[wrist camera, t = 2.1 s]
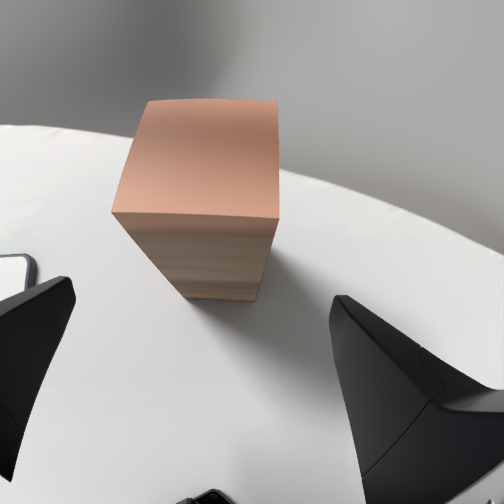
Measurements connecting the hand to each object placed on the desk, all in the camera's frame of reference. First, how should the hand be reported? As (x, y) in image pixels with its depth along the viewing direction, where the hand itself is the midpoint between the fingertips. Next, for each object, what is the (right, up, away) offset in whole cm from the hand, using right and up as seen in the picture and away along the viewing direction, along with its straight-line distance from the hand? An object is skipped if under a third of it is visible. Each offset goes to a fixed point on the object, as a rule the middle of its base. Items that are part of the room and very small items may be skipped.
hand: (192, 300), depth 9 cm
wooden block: (0, 0, +12) cm, 12 cm away
